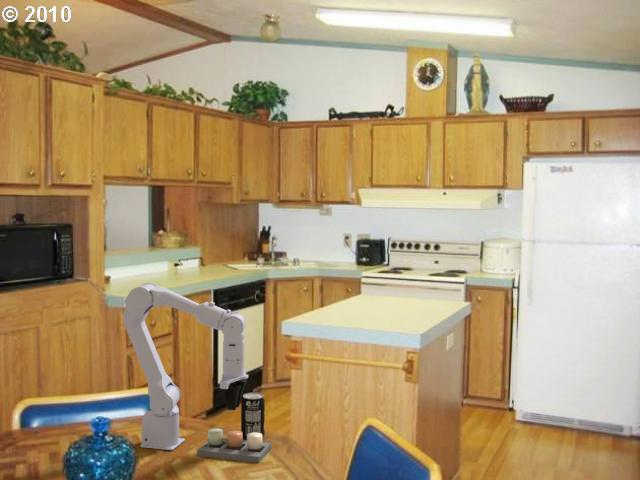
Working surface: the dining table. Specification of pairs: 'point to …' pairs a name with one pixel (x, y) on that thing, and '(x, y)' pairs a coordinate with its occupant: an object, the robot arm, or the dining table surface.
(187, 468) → the dining table surface
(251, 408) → the beverage can
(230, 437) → the peach egg
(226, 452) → the board
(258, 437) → the cream rounded piece
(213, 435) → the cap sage
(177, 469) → the dining table surface
